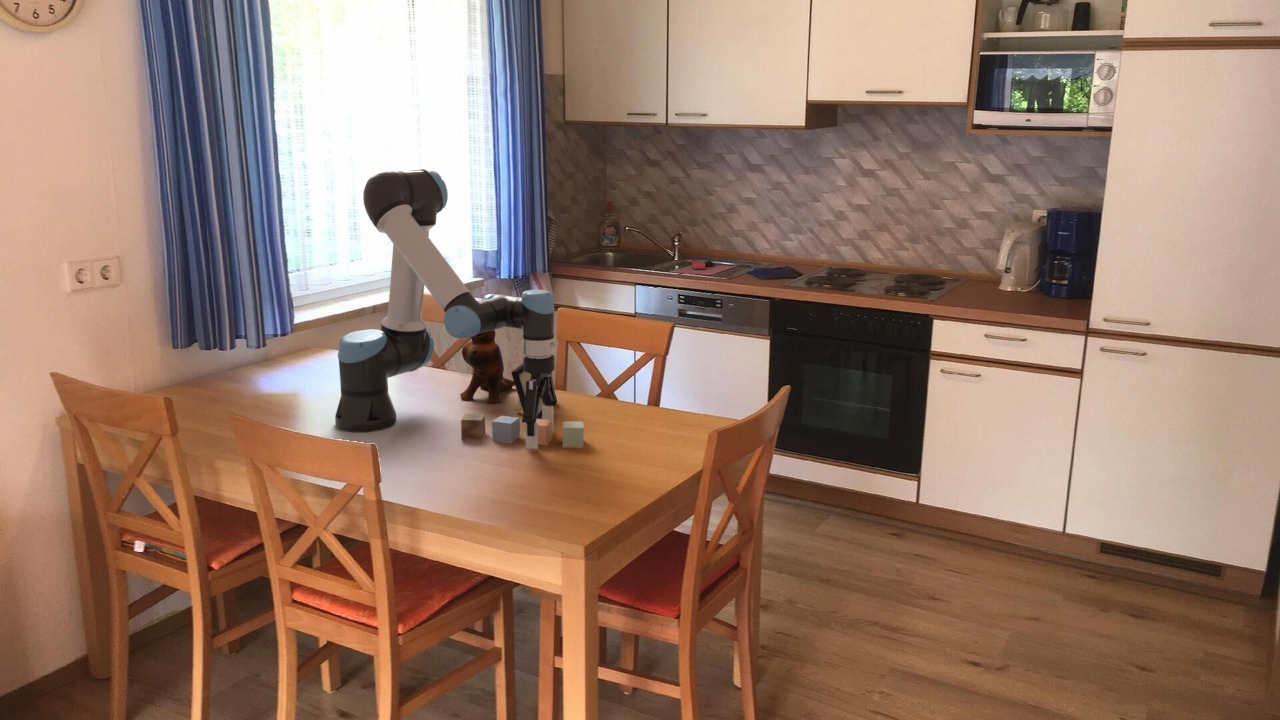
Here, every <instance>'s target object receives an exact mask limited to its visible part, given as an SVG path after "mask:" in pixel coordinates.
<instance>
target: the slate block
mask: <svg viewBox="0 0 1280 720" xmlns="http://www.w3.org/2000/svg"><path fill="white" fill-rule="evenodd" d="M491 426H492V427H491V428H492V429H491V431H492V432H491V433H492V434H491V435H492V437H491V439H492V441H495V442H501V443H502V442H503V443H508V444H509V443H510V444H512V443H513V442H514V441H516V440H517V439H519V438H520V437H521V418H520V417H517V416H508V415H507V416H506V415H500V416H499V417H497V418H495V419H494V420H492V421H491Z"/></svg>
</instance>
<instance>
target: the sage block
mask: <svg viewBox="0 0 1280 720" xmlns="http://www.w3.org/2000/svg"><path fill="white" fill-rule="evenodd" d="M584 427H585V426H584V421H562V448H584V434H585V431H584V430H585V429H584Z"/></svg>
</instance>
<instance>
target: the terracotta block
mask: <svg viewBox="0 0 1280 720" xmlns="http://www.w3.org/2000/svg"><path fill="white" fill-rule="evenodd" d="M536 422H538V446H547V445H548V444H549V443H550V442H551V441H552V440H553V432H552V420H547V419H542V418H541V419H536Z"/></svg>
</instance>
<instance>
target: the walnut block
mask: <svg viewBox="0 0 1280 720" xmlns="http://www.w3.org/2000/svg"><path fill="white" fill-rule="evenodd" d="M460 422H461V423H460V424H461V425H460V427H461V429H460V430H461V432H460V433H461V436H460V437H461V440H483V438H484V436H485V434H486V414H483V413H464V414H463V416H462V418H461V420H460Z"/></svg>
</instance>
